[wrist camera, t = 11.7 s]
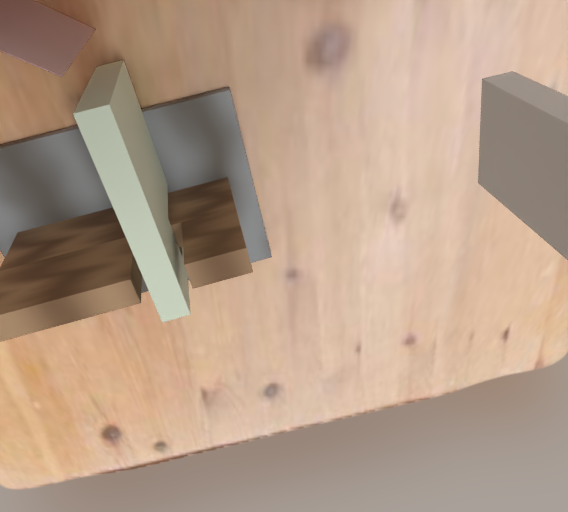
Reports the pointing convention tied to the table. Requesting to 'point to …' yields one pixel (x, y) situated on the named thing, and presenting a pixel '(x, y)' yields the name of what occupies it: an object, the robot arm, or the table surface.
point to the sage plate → (134, 183)
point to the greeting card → (41, 35)
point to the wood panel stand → (105, 225)
